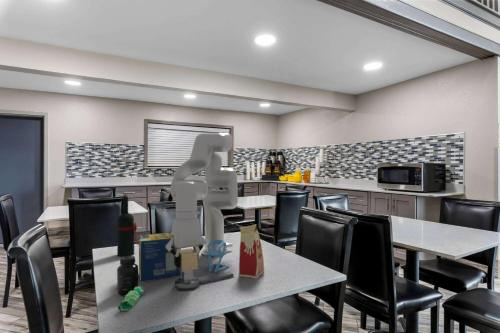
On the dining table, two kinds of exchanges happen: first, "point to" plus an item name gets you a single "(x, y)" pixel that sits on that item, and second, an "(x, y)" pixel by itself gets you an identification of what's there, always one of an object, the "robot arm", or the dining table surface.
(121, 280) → the supplement bottle
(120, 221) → the wine bottle
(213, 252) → the chair
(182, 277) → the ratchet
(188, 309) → the dining table surface
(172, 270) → the protein box
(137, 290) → the candy
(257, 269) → the milk carton
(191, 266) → the brown parcel carton
